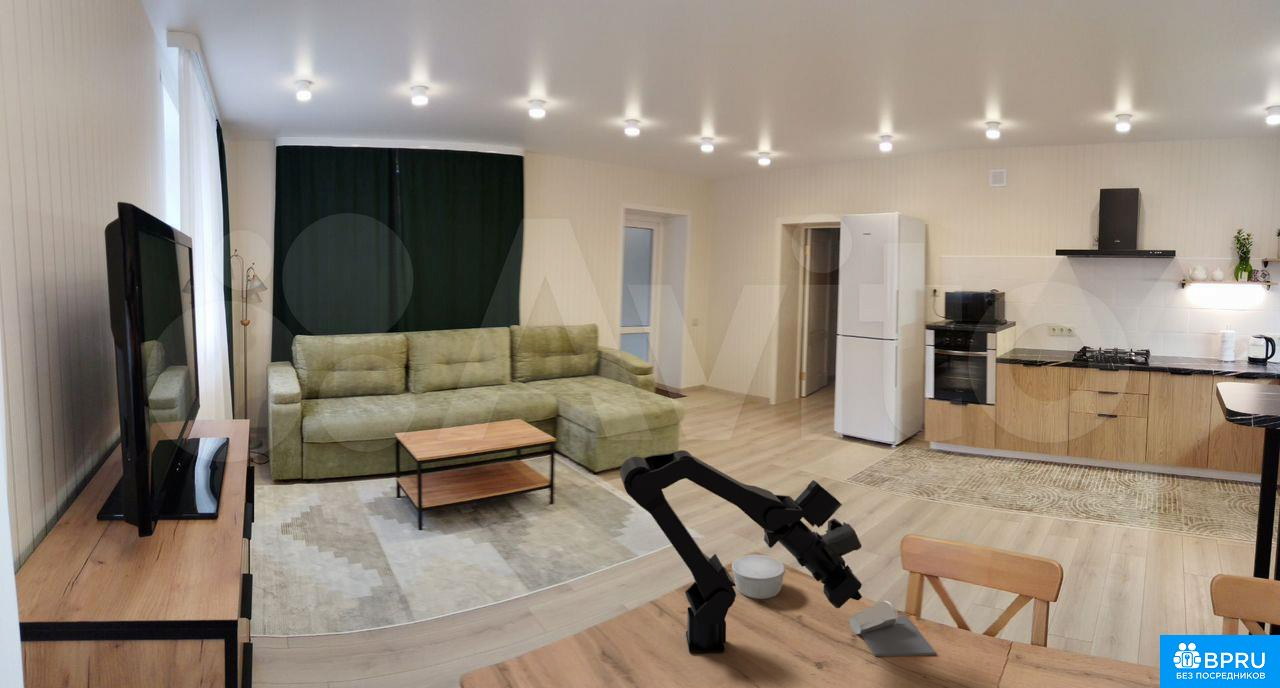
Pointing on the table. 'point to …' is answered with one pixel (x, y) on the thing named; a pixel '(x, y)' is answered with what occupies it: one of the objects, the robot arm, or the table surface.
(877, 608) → the milkshake
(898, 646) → the mat
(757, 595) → the ramekin
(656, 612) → the table surface
